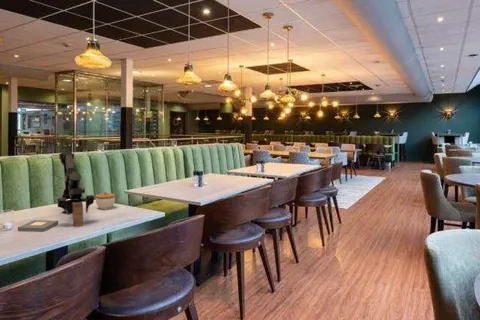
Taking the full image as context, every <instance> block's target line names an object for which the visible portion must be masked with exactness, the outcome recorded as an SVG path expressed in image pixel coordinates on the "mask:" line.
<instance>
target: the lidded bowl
mask: <svg viewBox="0 0 480 320" xmlns="http://www.w3.org/2000/svg"><path fill="white" fill-rule="evenodd" d="M94 198H95V203H96V207H98V208H99V209H100V210H110V209H112V207H114V205H115V203H116V202H115V201H116V194H115V193H107V192H106V191H104V193H98V194H96V195H95V196H94Z"/></svg>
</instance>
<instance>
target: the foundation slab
mask: <svg viewBox="0 0 480 320" xmlns="http://www.w3.org/2000/svg"><path fill="white" fill-rule="evenodd" d="M57 225H59V220H45V219H44V220H43V219H42V220H41V219H39V220H38V219H33V220H30V221H28V222H26V223H24V224H22V225H20V226H18V227H17V232H39V233H41V232H46V231H48V230H50V229H52V228H54V227H56V226H57Z"/></svg>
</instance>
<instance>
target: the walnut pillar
mask: <svg viewBox="0 0 480 320" xmlns="http://www.w3.org/2000/svg"><path fill="white" fill-rule="evenodd" d="M83 203H84V202H72V206H73V213H72V226H73V228H76V227H78V228H79V227H83V226H84V210H83V209H84V205H83Z"/></svg>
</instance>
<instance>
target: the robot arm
mask: <svg viewBox="0 0 480 320" xmlns="http://www.w3.org/2000/svg"><path fill="white" fill-rule="evenodd" d="M74 159H75V153H72V151H61V152H60V153H59V154H58V160H60V164H61V165H62V166H63V177H64V178H63V179H64V190H63V191H62V194H61V197H58V198H57V207H58V208H60V209H63V211H61V213H62V214H63V213H64V214H67V215H68V216H69V215H70V214H73V206H72V202H82V203H85V213H88V211H89V207H90V206H91V205H93V204H94V202H95V196H94V195H93V194H90V195H89V194H88V195H86V196H85V197H82V194H85V193H86V188H85V186H81V187H80V184H81V180H82V178H83V177H82V175H81V174H80V172H78V170H77V169H76V168H75V163H74Z"/></svg>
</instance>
